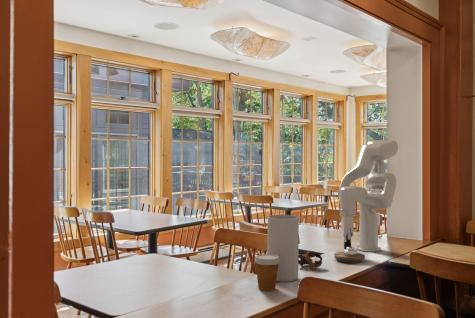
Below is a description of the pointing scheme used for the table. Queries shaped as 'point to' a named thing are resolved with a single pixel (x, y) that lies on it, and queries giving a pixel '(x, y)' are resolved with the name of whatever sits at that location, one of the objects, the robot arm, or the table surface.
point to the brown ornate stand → (307, 260)
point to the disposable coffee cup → (267, 271)
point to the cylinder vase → (284, 245)
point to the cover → (350, 252)
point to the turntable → (349, 258)
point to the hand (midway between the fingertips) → (347, 249)
